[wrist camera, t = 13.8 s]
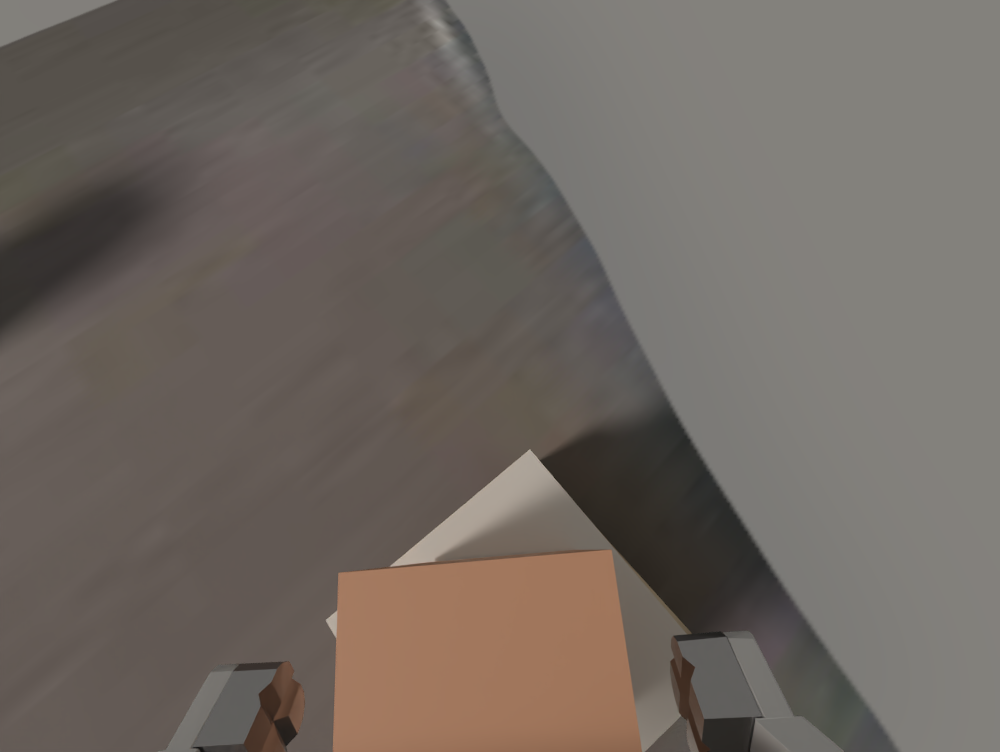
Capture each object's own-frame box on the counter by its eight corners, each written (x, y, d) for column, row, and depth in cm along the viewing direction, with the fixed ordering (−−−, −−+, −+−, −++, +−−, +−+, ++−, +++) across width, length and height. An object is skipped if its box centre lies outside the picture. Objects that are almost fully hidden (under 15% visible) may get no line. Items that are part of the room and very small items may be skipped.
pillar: (596, 726, 15) (667, 914, 7) (432, 738, 15) (327, 936, 7) (574, 549, 16) (611, 549, 9) (427, 562, 16) (338, 572, 9)
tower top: (687, 649, 18) (722, 675, 15) (504, 825, 17) (491, 903, 13) (534, 466, 21) (529, 449, 18) (368, 606, 20) (325, 620, 16)
